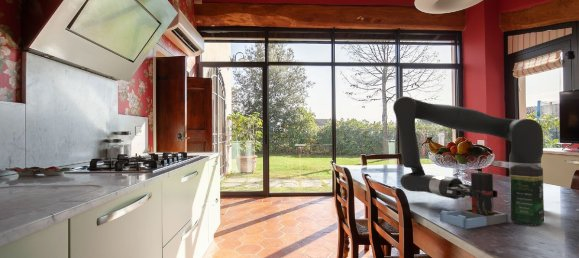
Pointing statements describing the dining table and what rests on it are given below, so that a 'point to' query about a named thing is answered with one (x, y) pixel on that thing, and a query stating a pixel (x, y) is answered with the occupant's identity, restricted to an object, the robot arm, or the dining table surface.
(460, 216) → the pale blue open frame
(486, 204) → the deodorant
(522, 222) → the coffee jar
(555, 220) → the dining table surface
